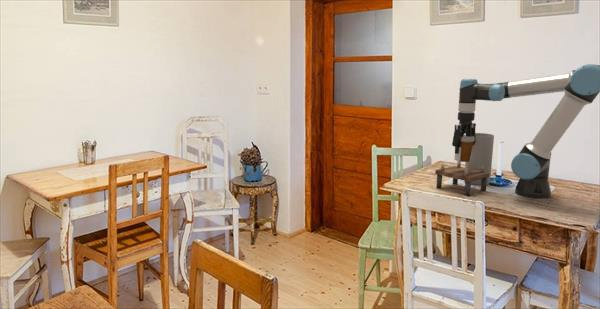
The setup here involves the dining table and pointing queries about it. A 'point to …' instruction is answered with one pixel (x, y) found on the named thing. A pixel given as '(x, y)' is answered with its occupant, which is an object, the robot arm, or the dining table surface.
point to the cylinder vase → (481, 155)
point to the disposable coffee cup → (466, 148)
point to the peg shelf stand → (462, 176)
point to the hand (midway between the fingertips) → (462, 159)
